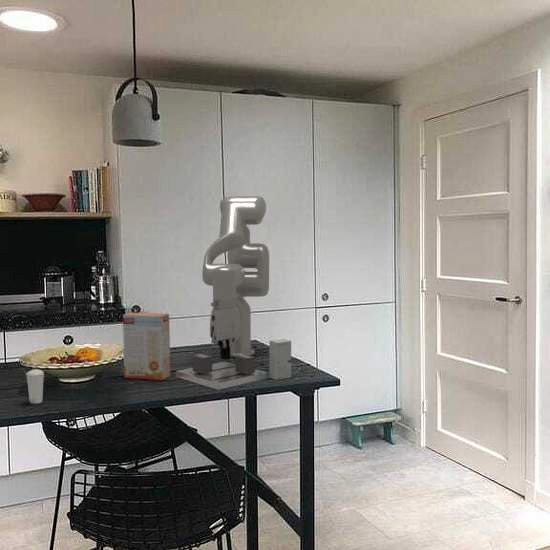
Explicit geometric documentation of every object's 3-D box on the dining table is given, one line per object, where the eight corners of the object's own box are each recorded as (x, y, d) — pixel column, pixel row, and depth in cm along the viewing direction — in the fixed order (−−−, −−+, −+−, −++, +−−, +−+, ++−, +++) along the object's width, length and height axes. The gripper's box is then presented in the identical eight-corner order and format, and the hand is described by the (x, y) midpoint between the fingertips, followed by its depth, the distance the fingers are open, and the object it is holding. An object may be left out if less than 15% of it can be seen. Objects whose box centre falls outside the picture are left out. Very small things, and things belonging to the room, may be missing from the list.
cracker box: (171, 376, 200) (170, 313, 199) (162, 381, 194) (161, 315, 193) (133, 373, 204) (132, 311, 203) (123, 378, 199) (122, 313, 197)
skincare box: (276, 380, 195) (276, 342, 194) (268, 377, 199) (268, 340, 198) (292, 377, 199) (292, 340, 198) (284, 374, 202) (284, 338, 201)
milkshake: (22, 401, 172) (21, 366, 171) (43, 399, 175) (41, 364, 174) (25, 405, 168) (24, 369, 167) (46, 402, 171) (45, 367, 170)
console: (176, 377, 200) (175, 370, 200) (224, 367, 213) (224, 361, 213) (217, 389, 184) (217, 382, 184) (267, 378, 197) (267, 372, 197)
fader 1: (192, 371, 198) (192, 355, 197) (203, 369, 200) (202, 353, 200) (202, 373, 194) (202, 357, 194) (212, 371, 197) (212, 356, 196)
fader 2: (235, 371, 197) (235, 355, 196) (244, 369, 199) (244, 354, 199) (245, 374, 193) (245, 358, 193) (255, 372, 196) (254, 356, 195)
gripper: (213, 308, 194) (214, 365, 196) (249, 302, 204) (249, 356, 207) (199, 305, 200) (200, 360, 202) (234, 300, 210) (235, 352, 212)
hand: (225, 358), depth 204 cm, fingers closed
